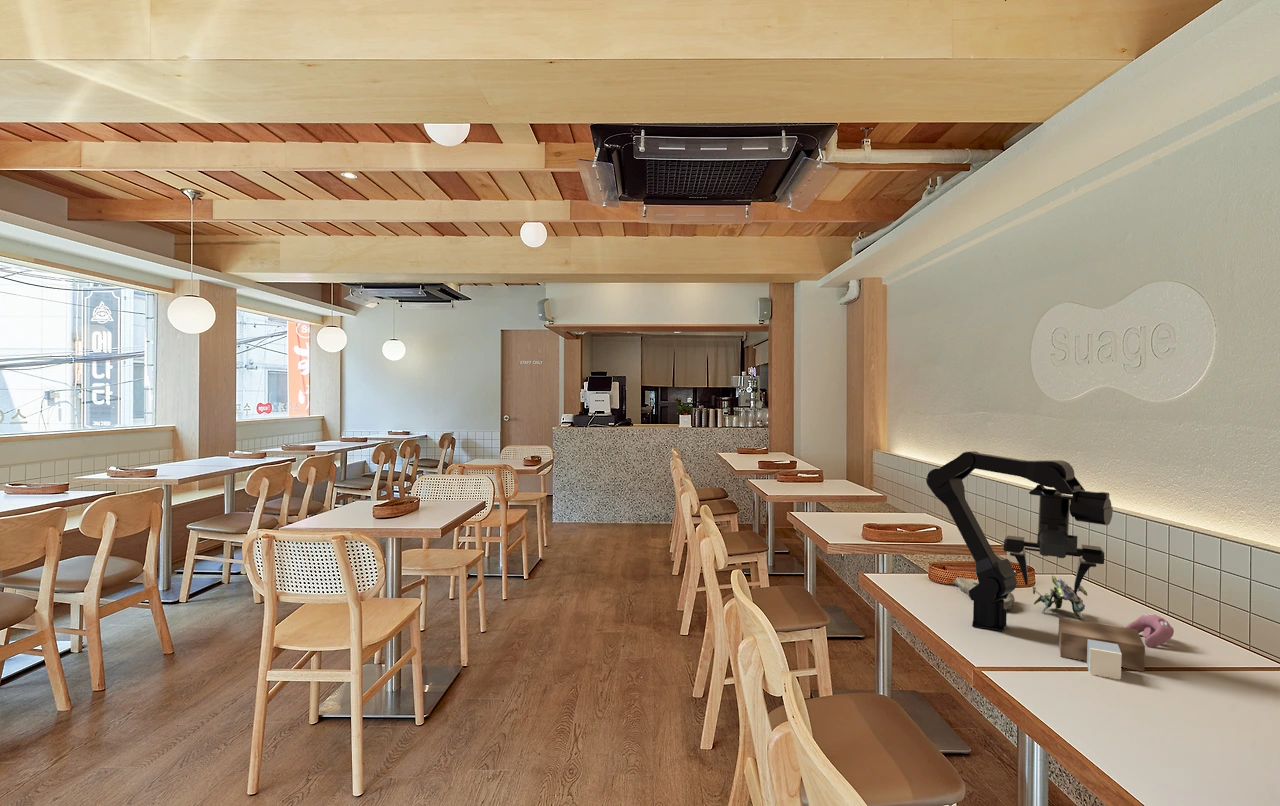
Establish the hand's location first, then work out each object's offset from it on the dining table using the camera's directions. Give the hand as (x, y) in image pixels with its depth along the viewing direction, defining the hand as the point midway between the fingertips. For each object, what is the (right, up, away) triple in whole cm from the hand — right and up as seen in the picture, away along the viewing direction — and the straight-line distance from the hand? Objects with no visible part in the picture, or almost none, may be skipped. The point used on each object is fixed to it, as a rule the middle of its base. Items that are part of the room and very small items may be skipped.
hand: (1050, 588), depth 150 cm
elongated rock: (+3, -12, +39) cm, 41 cm away
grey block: (+2, -9, -14) cm, 17 cm away
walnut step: (+6, -12, -7) cm, 15 cm away
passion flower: (+14, -13, +20) cm, 27 cm away
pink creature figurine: (+23, -13, +2) cm, 27 cm away
